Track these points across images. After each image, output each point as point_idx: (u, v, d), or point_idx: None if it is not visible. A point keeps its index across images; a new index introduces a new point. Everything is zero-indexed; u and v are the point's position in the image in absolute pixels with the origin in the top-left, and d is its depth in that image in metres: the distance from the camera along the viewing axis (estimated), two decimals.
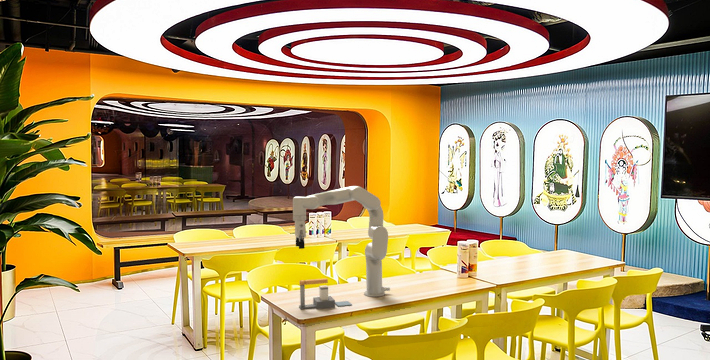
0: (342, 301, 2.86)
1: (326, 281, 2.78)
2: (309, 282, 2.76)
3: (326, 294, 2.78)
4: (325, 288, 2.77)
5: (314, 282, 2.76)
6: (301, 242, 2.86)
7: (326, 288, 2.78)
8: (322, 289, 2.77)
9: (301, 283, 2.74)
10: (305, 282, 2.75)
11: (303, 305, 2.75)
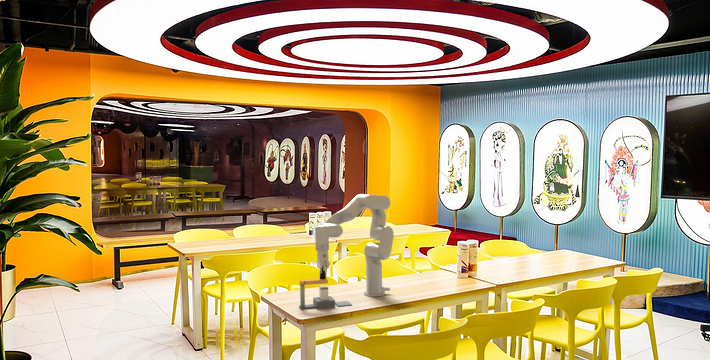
0: (342, 301, 2.86)
1: (326, 281, 2.77)
2: (309, 282, 2.75)
3: (326, 294, 2.78)
4: (325, 288, 2.77)
5: (314, 282, 2.76)
6: (322, 274, 2.79)
7: (326, 288, 2.78)
8: (322, 289, 2.77)
9: (301, 283, 2.74)
10: (305, 282, 2.75)
11: (303, 305, 2.75)
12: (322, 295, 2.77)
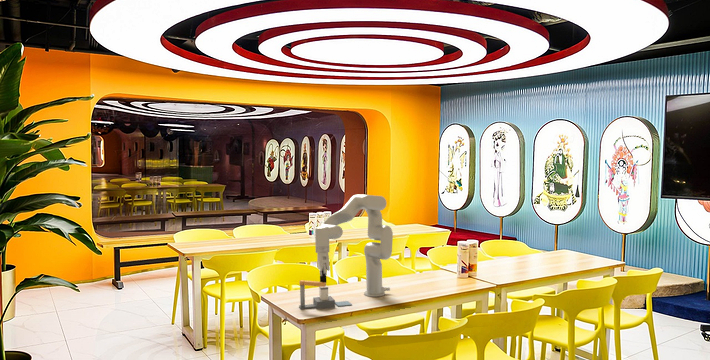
0: (342, 301, 2.86)
1: (322, 285, 2.69)
2: (307, 283, 2.73)
3: (326, 294, 2.78)
4: (325, 288, 2.77)
5: (311, 284, 2.72)
6: (323, 276, 2.72)
7: (326, 288, 2.78)
8: (322, 289, 2.77)
9: (300, 283, 2.75)
10: (303, 282, 2.74)
11: (303, 305, 2.75)
12: (322, 295, 2.77)
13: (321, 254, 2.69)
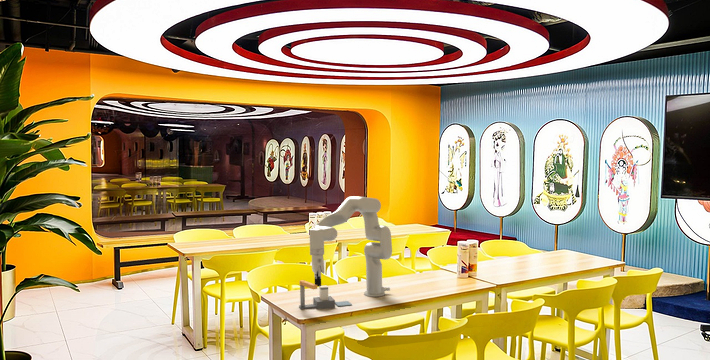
0: (342, 301, 2.86)
1: (312, 287, 2.64)
2: (303, 284, 2.72)
3: (326, 294, 2.78)
4: (325, 288, 2.77)
5: (306, 285, 2.70)
6: (318, 279, 2.66)
7: (326, 288, 2.78)
8: (322, 289, 2.77)
9: None
10: (301, 283, 2.74)
11: (303, 305, 2.75)
12: (322, 295, 2.77)
13: (316, 257, 2.63)
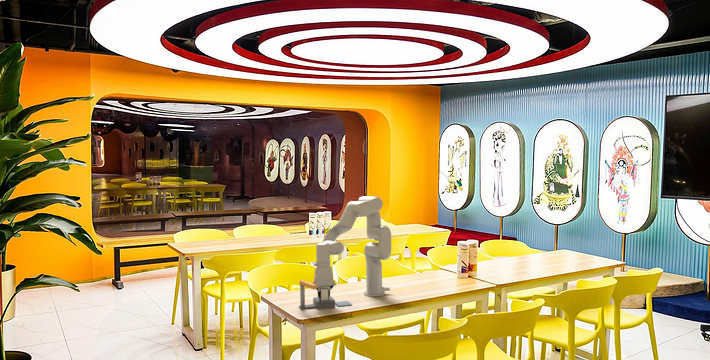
0: (342, 301, 2.86)
1: (312, 287, 2.64)
2: (303, 284, 2.72)
3: (326, 294, 2.78)
4: (325, 288, 2.77)
5: (306, 285, 2.70)
6: None
7: (326, 288, 2.78)
8: (322, 289, 2.77)
9: None
10: (301, 283, 2.74)
11: (303, 305, 2.75)
12: (322, 295, 2.77)
13: None
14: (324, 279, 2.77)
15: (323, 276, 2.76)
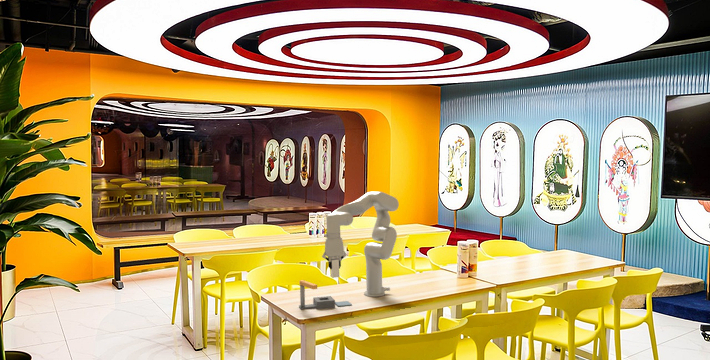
0: (342, 301, 2.86)
1: (312, 287, 2.64)
2: (303, 284, 2.72)
3: (337, 264, 2.79)
4: (336, 259, 2.79)
5: (306, 285, 2.70)
6: None
7: (337, 259, 2.79)
8: (333, 260, 2.79)
9: None
10: (301, 283, 2.74)
11: (303, 305, 2.75)
12: (333, 265, 2.79)
13: None
14: (335, 250, 2.78)
15: (334, 247, 2.78)
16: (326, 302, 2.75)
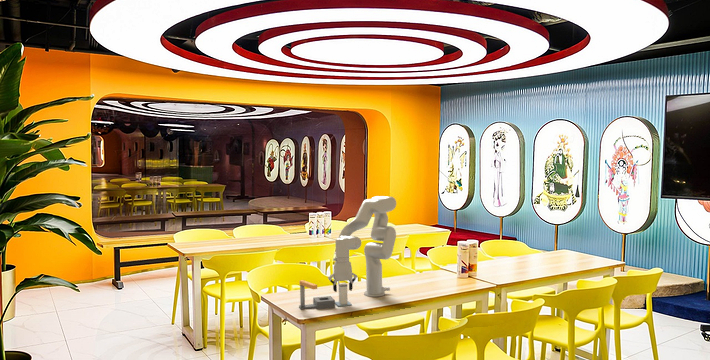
0: None
1: (312, 287, 2.64)
2: (303, 284, 2.72)
3: (345, 291, 2.81)
4: (345, 285, 2.81)
5: (306, 285, 2.70)
6: (333, 285, 2.81)
7: (345, 285, 2.81)
8: (341, 286, 2.80)
9: None
10: (301, 283, 2.74)
11: (303, 305, 2.75)
12: (341, 292, 2.80)
13: None
14: (343, 274, 2.80)
15: (343, 271, 2.79)
16: (326, 302, 2.75)
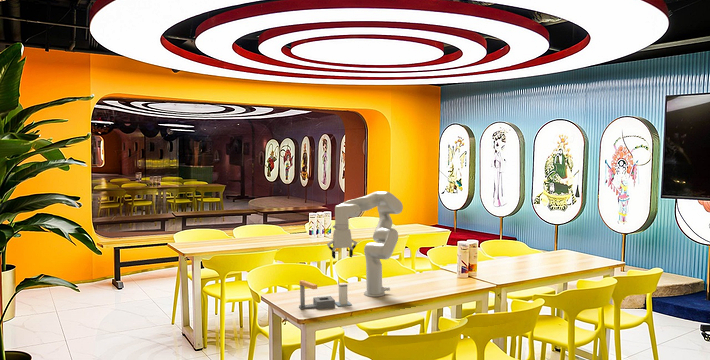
0: None
1: (312, 287, 2.64)
2: (303, 284, 2.72)
3: (345, 291, 2.81)
4: (345, 285, 2.81)
5: (306, 285, 2.70)
6: (332, 251, 2.81)
7: (345, 285, 2.81)
8: (341, 286, 2.80)
9: None
10: (301, 283, 2.74)
11: (303, 305, 2.75)
12: (341, 292, 2.80)
13: None
14: (343, 241, 2.79)
15: (342, 238, 2.79)
16: (326, 302, 2.75)
